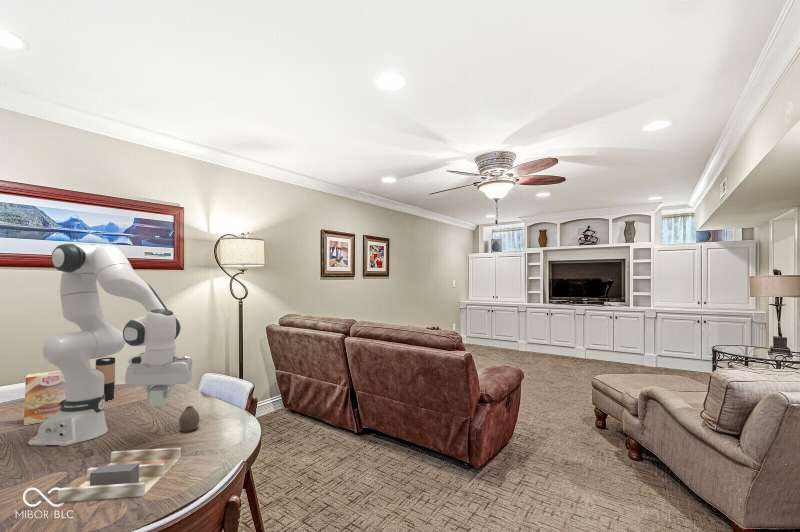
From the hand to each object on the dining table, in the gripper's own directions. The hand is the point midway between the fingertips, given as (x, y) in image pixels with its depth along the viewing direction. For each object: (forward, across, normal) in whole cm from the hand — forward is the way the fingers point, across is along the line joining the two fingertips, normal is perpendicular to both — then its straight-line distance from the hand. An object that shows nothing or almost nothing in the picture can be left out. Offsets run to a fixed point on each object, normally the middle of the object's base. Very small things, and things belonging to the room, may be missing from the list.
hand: (158, 397), depth 128 cm
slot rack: (+18, -1, +20) cm, 27 cm away
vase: (+18, -4, -17) cm, 25 cm away
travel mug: (+19, +54, -62) cm, 84 cm away
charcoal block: (+16, -1, +26) cm, 30 cm away
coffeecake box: (+19, +60, -37) cm, 72 cm away
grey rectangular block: (+2, 0, 0) cm, 2 cm away
